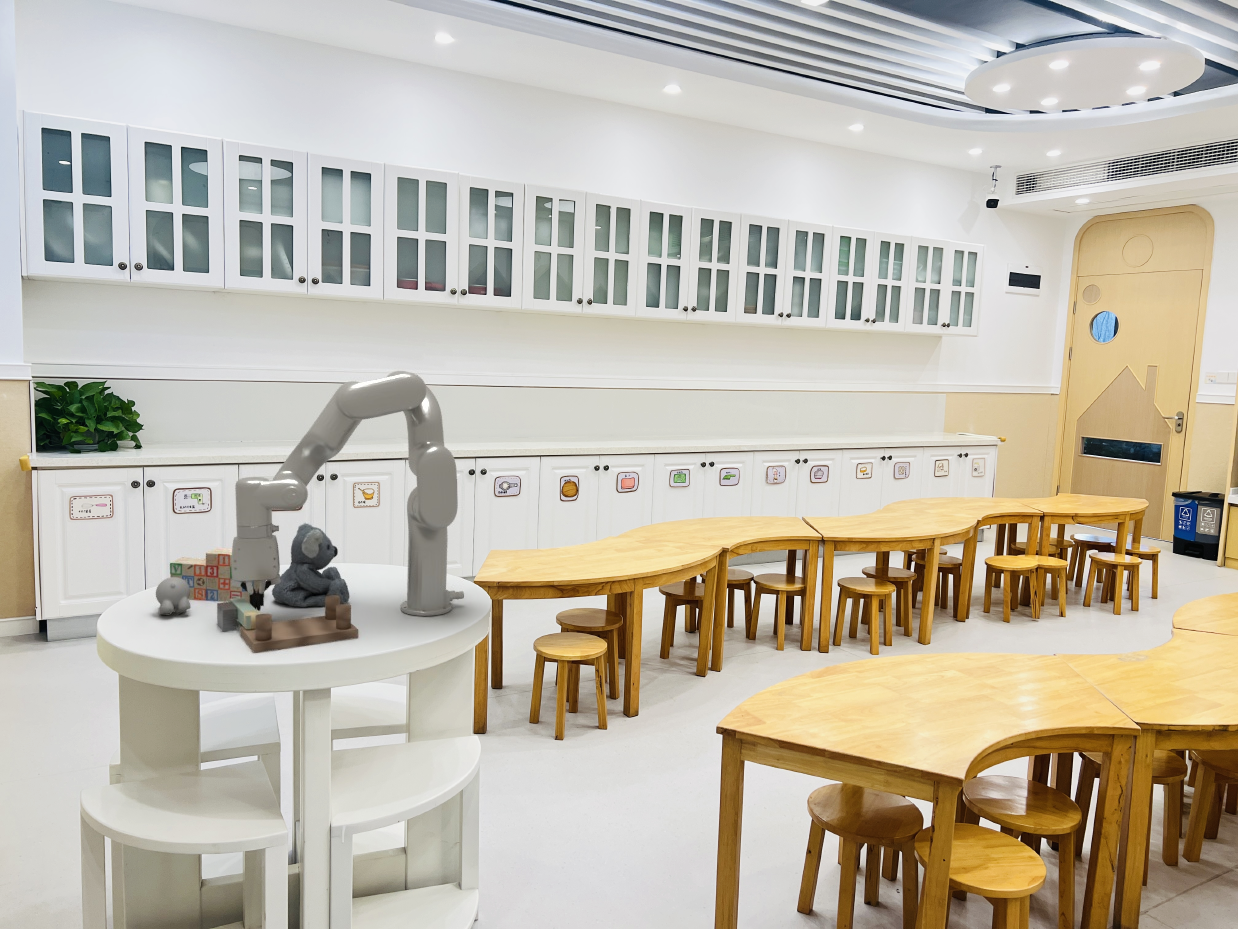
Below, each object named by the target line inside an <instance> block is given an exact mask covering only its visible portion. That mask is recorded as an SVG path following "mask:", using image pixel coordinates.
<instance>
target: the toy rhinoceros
mask: <svg viewBox="0 0 1238 929" xmlns="http://www.w3.org/2000/svg"><path fill="white" fill-rule="evenodd" d="M189 596H190V588H189V585H188V584H187V582H186V581H184V580H183V579H181V578H177V577H171V578H170V577H168V578H165V579H163V580H162V581H161V582H159V583H158V585H157V587H156V589H155V599H156V601H157V602H158V604H160V606H159V608H158V613H159V615H161V616H168V615H171V614H172V613H175V614H182V613H186V612H187V611H188V610H189V609H191V603H190V599H188V598H189Z"/></svg>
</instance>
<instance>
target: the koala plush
mask: <svg viewBox="0 0 1238 929" xmlns="http://www.w3.org/2000/svg"><path fill="white" fill-rule="evenodd" d="M290 547H291V548H290V558H291V560H290V566H289V567H288V568H287V569H286V570H285V571H284V572H283V573H282V574H280V578H281V582H280V583H278V584H275V585H273V587H272V590H271V595H272V596H273V599H274V600H275V601H276V602H278V603H279V604H283V605H284V604H285V605H286V604H287V605H288V606H291V607H292V608H293V607H298V608H299V607H300V608H307V607H316V606H317V607H324V608H325V597H326V596H329V595H338V596H340V604H346V603H348V602H349V600H350V592H349V589H348V585H347V584H348V583H347V582H346V580H345V579H344V578H342V576H341V574H340V572H339V571H338V570H339V569H338V567H336V566H330V567H328V566H329V565H330V563H331V562H332V560H333V559H334V558H336V557H337V556H338V552H339V550H338V548H337V546H335V545H333V543H332V540H331V539H330V538H329V537H328V535H327V534H326V533H325V532H324V531H323V530H322V529H321V528H319V527H316V526H313V524H311V523H308V522H307V523H306V522H303V523H302V524H299V526H298V528H297V531H296V535H295V536H294V538H293V539H292V543H291V546H290ZM322 570H323V571H322ZM320 571H322V573H321V572H320Z"/></svg>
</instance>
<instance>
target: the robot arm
mask: <svg viewBox="0 0 1238 929" xmlns="http://www.w3.org/2000/svg"><path fill="white" fill-rule="evenodd" d="M401 412H403V414H404V416H405V420H406V426H407V447H408V454H407V455H408V460H407V461H408V467H409V470H410V472H411V473H412V474H413V475H414V476H415V477H416V487H415V488H413V489H412V490H411V492H410V493H409V496H408V498H407V502H406V503H407V504H406V515H407V527H408V529H407V531H408V532H407V533H408V534H407V535H408V537H407V538H408V539H407V540H408V542H407V543H408V544H407V546H408V547H407V582H406V584H407V587H406V588H407V589H406V590H407V591H406V592H407V593H406V600H405V601H403V602H401V603H400V611H401V612H402V613H405V614H408V615H411V616H421V617H424V616H425V617H427V616H429V617H430V616H438V615H444V614H446V613H449V612H451V611H452V609H453V603H452V602H453V601H455V600H463V599H465V593H464V591H456V590H448V589H447V572H448V571H447V570H448V569H447V567H448V566H447V565H448V563H447V562H448V539H449V538H448V527H450V525H451V524H452V523H453V522H454V521H455V519H456V517H457V513H458V503H459V502H458V500H459V499H458V478H457V477H458V476H457V475H458V474H457V471H458V470H457V465H456V460H455V457H454V455H453V453H452V452H451V450H450V449H448V448H447V447H446V446H445V440H444V439H445V438H444V437H445V436H444V427H443V415H442V411H441V406H440V404H439V401H438V400H437V398H436V395H435V394H434V393H433V392H432V390H431V389H430V387H428V386H427V384H426V383H425V381H424V379H422V377H420V376H419V375H418V374H415V373H413V372H409V371H405V370H396V371H392V372H391V373H389V374H388V375H387V376H386V377H382V378H378V379H373V380H368V381H367V380H366V381H361V382H360V381H356V380H355V381H353V380H352V381H347V382H345V383H343V384H341V385H339V387H338V389H336V390H335V392H334V394H333V395H332V397H331V398H330V399H329V401H328V403H327V404H326V405H325V407H324V408H323V410H322V411H321V412H320V414H319V415H318V417H317V418H316V420H315V421H314V422H313V424H312V425H311V427H309V430H308V431H307V432H306V433H305V434H304V436H303V437H302V438H301V440H300V441H299V443H298V444H297V445H296V446H295V448H293V450H292V451H291V452H290V454H289V455H288V457H287V458H286V459H285V461H284V462H283V464H282V465H281V467H280V468H279V469H278V471H277V472H276V473H275V475H274V476H273V479H268V478H266V477H261V476H249V477H248V476H247V477H242V478H239V479H238V480H237V481H236V483H235V511H236V512H235V513H236V514H235V516H236V517H235V518H236V536H234V537H233V541H232V546H231V547H232V548H231V549H232V564H231V572H232V580H231V586H235V587H242V588H243V589H244V590H245V591H247V592H248V594H249V597H250V604H251V605H252V606H253V607H254V608H255V609H256V610H257V611H259V612H260V611H261V608H262V607H264V604H265V602H264V601H265V599H264V598H265V592H266V591H267V590H268V589H269V588H270V587H271V586H274V585H275V584H278V583H280V582H281V578H280V576H281V574H280V553H279V550H280V549H279V544H278V538H277V535H276V534H274V533H276V532H279V531H280V525H276V524H275V525H274V523H273V511H272V510H282V511H294V510H297V509H299V508H302V507H303V505H305V503H306V502H307V500H308V496H309V492H308V489H307V488H308V486H309V484H310V482H311V481H312V480H313V477H315V475H316V473H317V472H319V470H320V469H321V467H322V466H323V465H324V464H325V463H326V462H328V461H329V460H331V459H333V458H334V457H336V456H337V455H338V454H339V453H340V452H341V451H342V450H343V448H344V447H345V446H346V444H347V443H348V441H349V439H350V438H351V436H352V435H353V433H354V432H355V430H356V429H357V428H358V426H360V424H361V422H362V421H363V420H368V419H374V418H379V417H384V416H388V415H392V414H395V413H401ZM253 581H260V586H259V589H258V592H257V593H256V591H255V589H254V586H253Z"/></svg>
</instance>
